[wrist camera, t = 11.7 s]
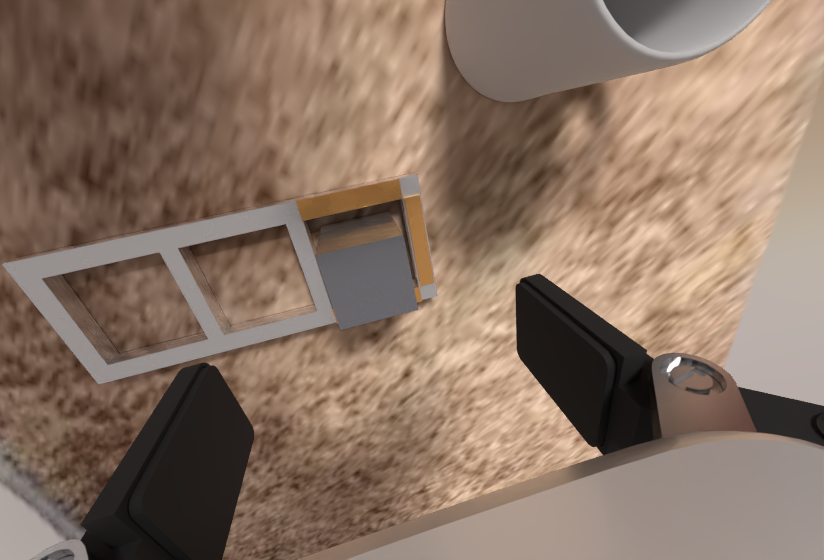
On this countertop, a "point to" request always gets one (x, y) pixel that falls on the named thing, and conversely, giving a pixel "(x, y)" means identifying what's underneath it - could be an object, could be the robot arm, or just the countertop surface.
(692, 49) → the mug
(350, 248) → the grey rectangular block
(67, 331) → the grey flat frame
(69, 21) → the countertop surface
